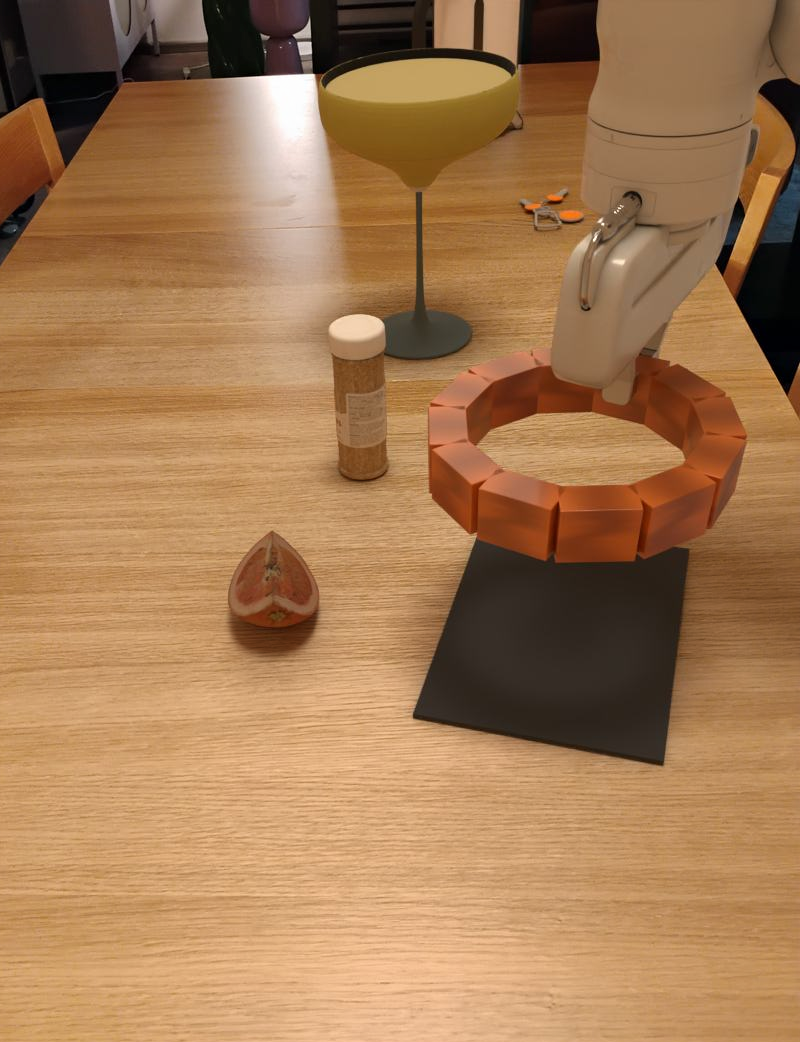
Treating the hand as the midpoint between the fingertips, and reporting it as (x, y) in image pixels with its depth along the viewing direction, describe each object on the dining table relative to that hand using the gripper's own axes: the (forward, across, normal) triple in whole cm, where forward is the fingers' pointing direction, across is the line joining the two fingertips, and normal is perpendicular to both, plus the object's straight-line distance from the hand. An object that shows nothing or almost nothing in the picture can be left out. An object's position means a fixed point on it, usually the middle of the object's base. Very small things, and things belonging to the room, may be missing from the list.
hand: (629, 385), depth 68 cm
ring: (+2, -8, 0) cm, 8 cm away
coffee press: (+15, +89, +57) cm, 107 cm away
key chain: (+15, +64, +33) cm, 74 cm away
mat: (+15, -8, 0) cm, 17 cm away
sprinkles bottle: (+16, +3, +23) cm, 28 cm away
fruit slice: (+16, -17, +19) cm, 30 cm away
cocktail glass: (+15, +28, +31) cm, 45 cm away
